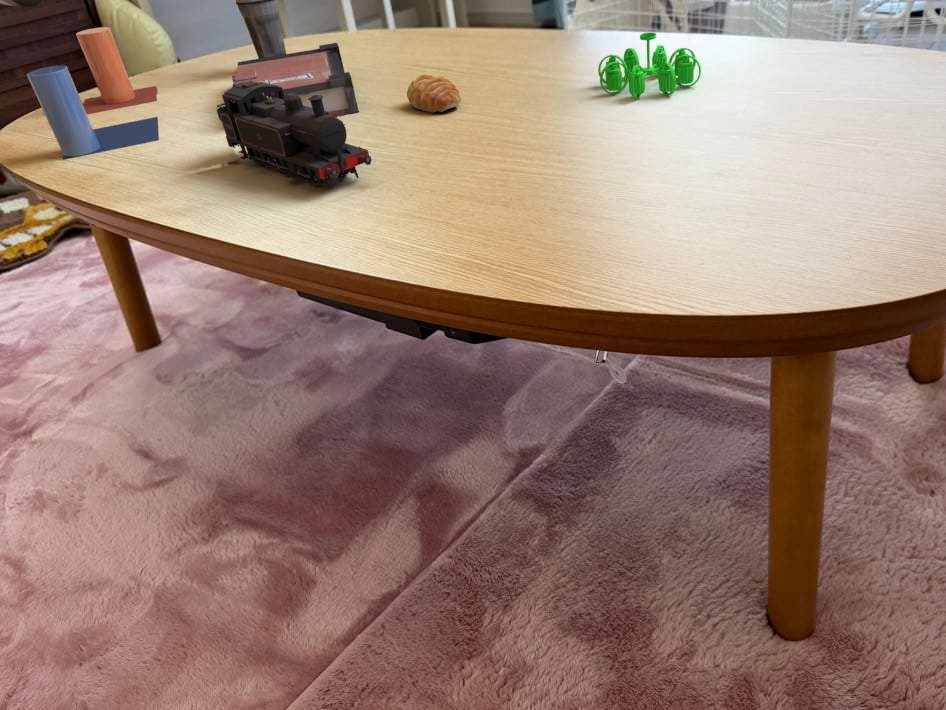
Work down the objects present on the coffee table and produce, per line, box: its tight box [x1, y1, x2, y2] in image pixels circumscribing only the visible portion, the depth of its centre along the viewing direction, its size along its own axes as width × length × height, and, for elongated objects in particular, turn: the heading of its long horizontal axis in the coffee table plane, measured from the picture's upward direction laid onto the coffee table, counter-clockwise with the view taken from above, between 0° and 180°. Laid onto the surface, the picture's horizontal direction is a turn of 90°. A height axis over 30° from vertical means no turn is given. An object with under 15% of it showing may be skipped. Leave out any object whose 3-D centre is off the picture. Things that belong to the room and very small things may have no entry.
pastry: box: [406, 73, 462, 114], centre depth 116 cm, size 9×7×4 cm
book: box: [231, 42, 360, 117], centre depth 127 cm, size 26×18×5 cm
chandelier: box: [597, 32, 702, 99], centre depth 113 cm, size 15×15×7 cm
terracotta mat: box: [83, 85, 158, 115], centre depth 138 cm, size 12×12×1 cm
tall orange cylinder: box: [75, 26, 136, 104], centre depth 135 cm, size 5×5×11 cm
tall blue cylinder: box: [26, 65, 100, 158], centre depth 112 cm, size 5×5×11 cm
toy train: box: [216, 81, 373, 190], centre depth 98 cm, size 8×25×10 cm, turn 45°
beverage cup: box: [235, 0, 287, 59], centre depth 142 cm, size 7×7×20 cm
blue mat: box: [62, 116, 160, 161], centre depth 120 cm, size 13×14×1 cm
